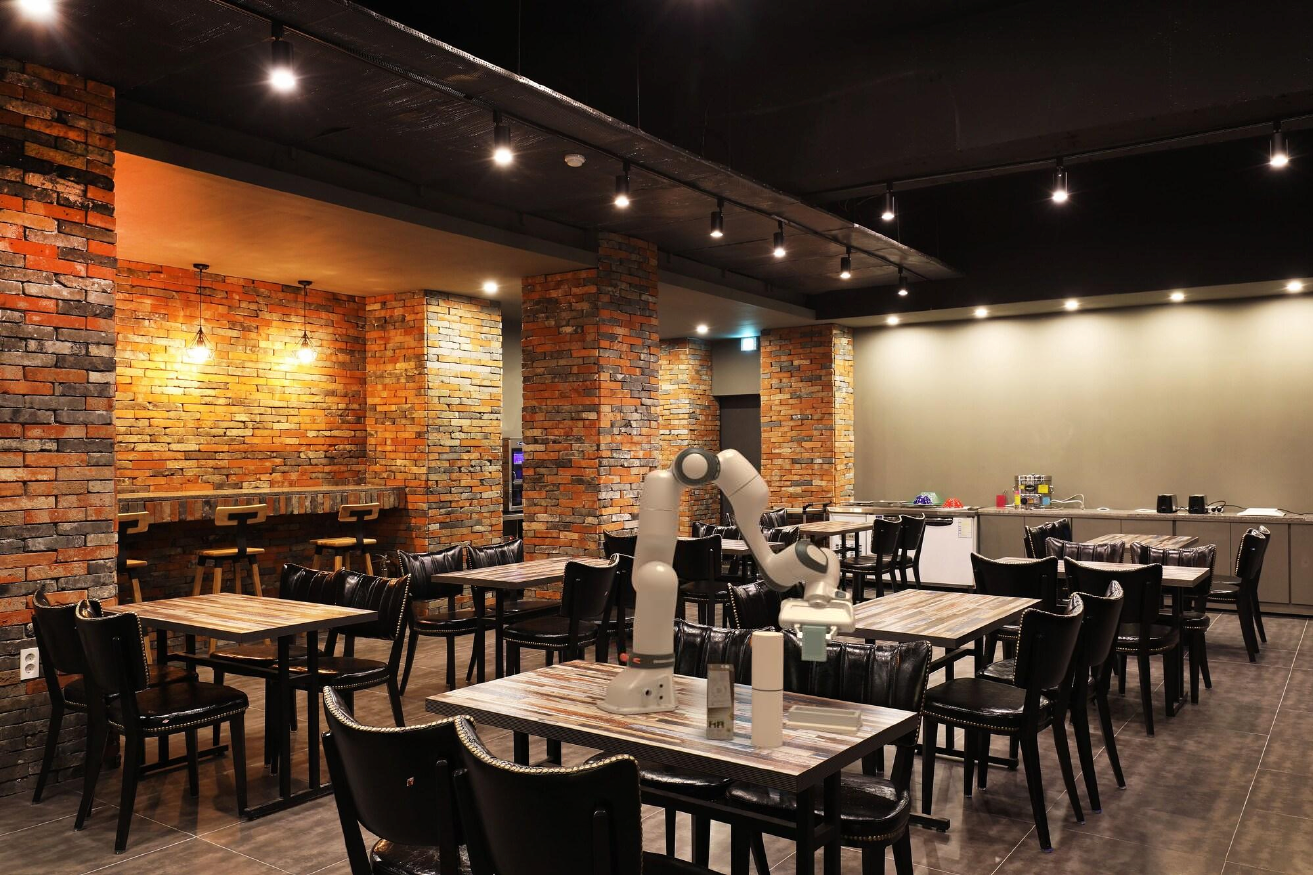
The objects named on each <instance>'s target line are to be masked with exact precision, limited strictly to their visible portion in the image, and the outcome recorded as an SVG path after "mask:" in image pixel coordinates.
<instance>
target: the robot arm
mask: <svg viewBox="0 0 1313 875" xmlns="http://www.w3.org/2000/svg"><path fill="white" fill-rule="evenodd" d="M708 483H712V484H714V485H716V486H717V487H718V488H719V489H720V490H721V491H722V492H723V494H724V495H725V496H726V499H728V501H729V503H730V504H731V506H732V510H733V511H734V512H733V514H734V516H733V521H734V526H735V527H736V529H737V531H738V533H739V535H740V537H741V538H742V541H743V543H744V544H745V546H746V547H747V549H748V551H749V553H750V555H751V556H752V558H753V560H754V561H755V563H756V565H757V567H758V570H759V572H760V576H761V578H762V579H763V582H764V583H765V585H766V586H767V587H768V588H770V589H772V590H773V591H776V592H779V593H784V592H787V591H788V590H789V589H791V588H792V587H793V586H795V585H796V584H797V583H799V582H801V581H804V582H805V587H804V595H803V598H792V597H789V598H787V599H784V600H782V601H781V603H780V612H779V615H778V625H779V626H780V627H781V628H782V629H790V630H794V632H795V634H796V640H797V642H801V643H802V627H803V626H819V627H827V632H829V633H828V634H826V638H825V641H826V643H827V644H832V642H833V639H834V638H835V637H836V636H837V635H838V633H850V634H851V633H854V631H855V630H856V616H855V615H856V614H855V609H854V604H853V599H852V595H851V594H850V593H849V592H847V591H843V590H840V589H838V586H839V583H840V579H841V578H840V577H841V576H840V575H841V563H840V559H839V557H838V555H837V553H835V551H834V550H832V549H830V548H827V547H819V546H817V545H816V544H814V543H813V542H811V541H808V540H804V539H801V540H798V541H796V542H794V543H792V544H791V545H789V546H787V547H786V548H785V549H783V550H782V551H780V552H778V553H774V551H773V550H772V549H771V548H770V547H771V546H770V545H769V544H768V542H767V540H766V538H765V536H764V534H763V533H762V531H761V529H760V522H761V517H762V516H763V514H764V512H765V510H766V509H767V508H768V505H769V501H770V489H769V486H768V484H767V483H766V481H765V479H764V478H763V477H762V476H761V474H760V473H759V472H758V471H757V469H756V468H755V467H754V466H753V465H752V463H750V462H749V460H748V459H747V458H745V457H744V455H742V454H741V453H740V452H739V451H737V450H735V449H733V448H729V449H724V450H722V451H720V452H719V453H717V454H715V453H712V452H710V451H708V450H705V449H703V448H701V447H695V446H693V447H685V448H683V449H682V450H680V451H679V452H678V453H677V454H676V455H675V457H674V458H673V460H672V462H671V463H670V464H669V466H668V467H667V468H666V469H655V470H652V471H650V472H649V473H647V474H646V475H645V478H644V481H643V484H642V488H641V493H640V501H639V510H638V521H637V522H638V524H637V526H638V527H637V538H636V544H635V549H634V556H633V565H632V572H631V584H632V587H633V589H634V590H635V592H636V595H635V597H636V598H635V610H634V617H633V624H632V625H633V629H632V630H633V632H632V635H633V636H632V639H633V640H632V651H631V652H630V654H627V653H621V654H620V656H619V658H620V660H621V661H622V662H626V663H627V664H626V666H625V667H624V669H622V670H621V671H620V672H619V673H618V674H616V676H614V677H613V678H612V679H611V680H610V681H609V682H608V683H607V685H606V689H605V696H604V697H605V698H604V700H600V701H597V702H596V707H597V708H598V709H600V710H603V711H606V712H609V713H613V714H618V715H633V714H634V715H635V714H637V715H638V714H646V713H659V712H671V711H672V712H673V711H675V710H676V707H678V706H679V701H678V697H677V693H676V686H675V675H674V669H675V665H676V664H675V663H676V661H675V660H676V654H675V652H674V629H675V628H674V627H675V615H676V607H677V599H678V587H679V578H678V576H677V572H676V571H675V570H674V568H673V563H674V557H675V556H674V555H675V552H676V546H677V542H678V537H679V536H678V534H679V523H680V522H679V520H680V503H681V497H682V494H683V492H684V490H686V489H692V488H693V489H694V488H699V487H701V486H703V485H706V484H708Z"/></svg>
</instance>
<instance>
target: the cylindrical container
mask: <svg viewBox="0 0 1313 875" xmlns="http://www.w3.org/2000/svg"><path fill="white" fill-rule="evenodd" d="M751 634H752V636H751V652H752V653H751V717H750V718H751V721H750V722H751V726H750V727H751V730H750V732H751V733H750V736H751V737H750V739H751V740H750V742H751V743H750V744H751V745H752V746H754V747H758V748H765V749H774V748H780V747H782V746H783V739H784V738H783V736H784V735H783V734H784V733H783V726H784V724H783V723H784V721H783V720H784V719H783V717H784V714H783V712H784V710H783V708H784V707H783V706H784V702H783V701H784V699H783V698H784V697H783V696H784V633H782V632H776V631H753V632H752V633H751Z"/></svg>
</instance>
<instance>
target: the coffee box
mask: <svg viewBox="0 0 1313 875" xmlns="http://www.w3.org/2000/svg"><path fill="white" fill-rule="evenodd" d="M706 672H707V673H706V739H707V740H726V741H727V740H731V741H732V740H734V735H735V734H734V732H735V731H734V724H735V722H734V721H735V719H734V718H735V668H734V664H733V663H732V664H731V663H708V664H707V671H706Z"/></svg>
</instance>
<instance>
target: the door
mask: <svg viewBox="0 0 1313 875" xmlns="http://www.w3.org/2000/svg"><path fill="white" fill-rule="evenodd" d="M801 633H802V642H801V661H815V662H826V661H827V649H828V648H827V646H828V645H827V644H828V643H826V641H825V638H826V634H827V633H828V631H827V627H819V626H803V627H802V630H801Z"/></svg>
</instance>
